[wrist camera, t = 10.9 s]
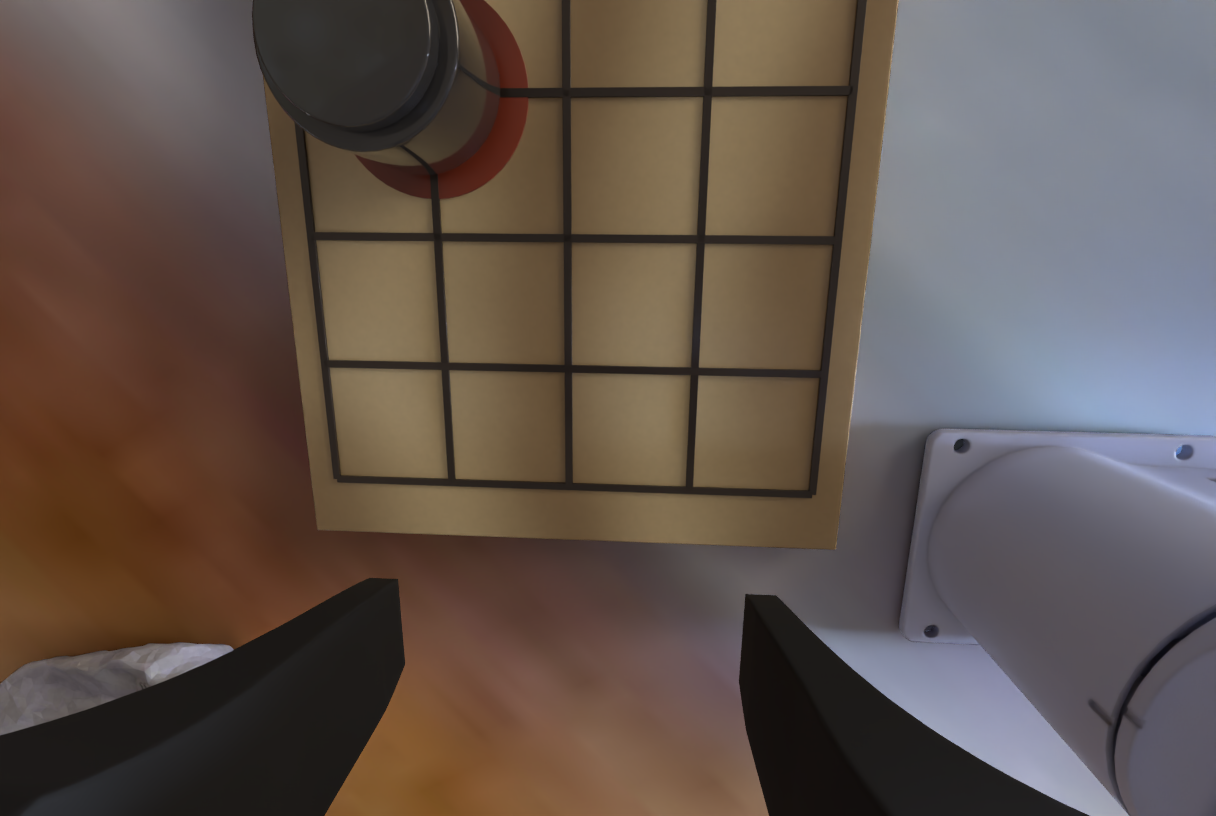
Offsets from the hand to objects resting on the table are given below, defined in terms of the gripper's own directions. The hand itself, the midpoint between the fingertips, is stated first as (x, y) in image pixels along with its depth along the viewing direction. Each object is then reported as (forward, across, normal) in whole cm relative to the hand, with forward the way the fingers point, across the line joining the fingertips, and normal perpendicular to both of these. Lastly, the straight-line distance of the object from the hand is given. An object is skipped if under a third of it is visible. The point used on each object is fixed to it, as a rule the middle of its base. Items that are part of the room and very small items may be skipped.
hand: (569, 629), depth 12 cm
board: (+9, +1, -8) cm, 12 cm away
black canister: (+8, +5, -12) cm, 15 cm away
